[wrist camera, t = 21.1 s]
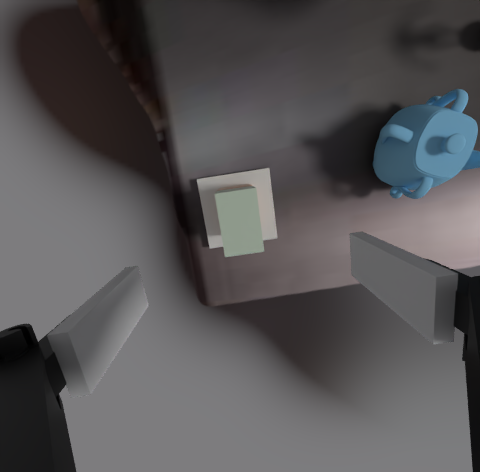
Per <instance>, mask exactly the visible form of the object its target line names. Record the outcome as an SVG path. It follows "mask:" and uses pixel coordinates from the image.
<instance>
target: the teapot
mask: <svg viewBox="0 0 480 472" xmlns="http://www.w3.org/2000/svg"><path fill="white" fill-rule="evenodd" d="M454 99H456V100H455V102H454V104H453V106H452V108H451V109H449V108H445V107H444V106H445V105H447V104H448V103H450V102H451V101H453V100H454ZM467 102H468V94H467V93H466V92H465V91H464V90H461V89H455V90H452V91H450V92H448V93H447V94H445V95H444V96H442V97H440V96H434V97H431V98H430V99H429V100H428V101H427V103H426V104H425V105H423V104H422V105H414V106H409V107H406V108H403V109H401V110H399V111H398V112H397V113H395V114H394V115H393V116H392V117H391V118H390V120H389V121H388V122H387V124H386V125H385V126H384V127H383V128H382V129H381V131H380V136H379V138H378V141H377V144H376V147H375V152H374V161H373V164H372V165H373V168H374V171H375V173H376V175H377V177H378V178H379V179H380V180H382V181H383V182H385V183H387V184H389V185H392V186H393V187H392V188H391V190H390V195H391V196H392V197H393V198H400V197H401V195H402V193H403V194H404V195H405V196H407V197H409V198H413V199H418V198H421V197H423V196H424V195H425V194H426V193H427V192H428V191H429V189H430V188H432V187H435V186H438V185H440V184H442V183H444V182H446V181H447V180H449V179H451V178H453V177H454V176H455V175H457V174H458V173H459V172H460V171H461V170H467V169H474V168H479V167H480V152H479V151H475V150H473V148H474V145H475V142H476V138H477V131H478V128H477V123H476V121H475V120H474V119H472V118H471V117H469V116H467V115H465V114H463V113H462V111H463V110H464V108H465V106H466V104H467ZM408 189H409V190H415V191H414V192H413V193H412V192H410V191H409V190H408Z"/></svg>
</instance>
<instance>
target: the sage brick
mask: <svg viewBox="0 0 480 472" xmlns="http://www.w3.org/2000/svg"><path fill="white" fill-rule="evenodd" d="M215 200H216V206H217V212H218V218H219V224H220V230H221V236H222V242H223V248H224V254H225V257H230V256H237V255H244V254H251V253H258V252H264V246H263V238H262V230H261V222H260V214H259V206H258V198H257V190H256V187H254V186H247V187H240V188H233V189H226V190H220V191H217V192H216V193H215Z"/></svg>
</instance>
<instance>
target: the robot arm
mask: <svg viewBox="0 0 480 472" xmlns="http://www.w3.org/2000/svg"><path fill="white" fill-rule="evenodd" d="M350 251H351V274H352V276H353V277H354V278H356V279H357V280H358V281H359V282H360V283H361V284H363V285H364V286H365V287H366V288H368V289H369V290H370V291H371V292H372V293H373V294H374V295H376V296H377V297H378V298H379V299H380V300H382V301H383V302H384V303H385V304H386V305H387V306H389V307H390V308H391V309H392V310H393V311H394V312H396V313H397V314H398V315H399V316H400V317H401V318H403V319H404V320H405V321H406V322H407V323H409V324H410V325H411V326H412V327H413V328H414V329H416V330H417V331H418V332H419V333H420V334H422V335H423V336H424V337H425V338H426V339H427V340H429V341H430V342H431V343H432V344H439V343H447V342H453V341H454V328H455V327H456V328H457V329H459V330H460V331H462V332H463V333H464V344H463V345H464V346H463V357H462V360H463V361H465V369H466V383H467V397H468V410H469V425H470V438H471V452H472V467H473V472H480V276H475V277H469V276H467V275H465V274H462V273H460V272H458V271H455V270H453V269H449V268H448V267H446V266H444V265H441V264H439V263H437V262H434V261H432V260H428V259H424V258H421V257H419V256H417V255H414V254H412V253H410V252H407V251H405V250H403V249H401V248H398V247H396V246H394V245H392V244H389V243H387V242H385V241H382V240H380V239H378V238H376V237H373V236H371V235H369V234H366V233H364V232H356V233H350ZM147 307H148V301H147V298H146V294H145V290H144V286H143V283H142V279H141V275H140V271H139V268H138V266H133V267H127V268H125V269H124V270H123V271H121V272H120V273H119V274H118V275H117V276H116V277H114V278H113V279H112V280H111V281H110V282H108V283H107V284H106V285H105V286H104V287H103V288H102V289H100V290H99V291H98V292H97V293H96V294H94V295H93V296H92V297H91V298H90V299H89V300H87V301H86V302H85V303H84V304H83V305H82V306H80V307H79V308H78V309H77V310H76V311H75V312H74V313H72V314H71V315H69V316H68V317H67V318H66V319H65V320H63V321H62V322H61V324H59V325H57V326H56V327H55V329H53V330H52V331H50V332H49V333H48V334H47V335H46V336H45V337H44V338H42V339H41V340H40V341H39V342H38V341H37V339H36V336H35V333H34V331H33V328H32V326H31V325H30V324H21V325H17V326H14V327H11V328H8V329H5V330H3V331H1V332H0V472H76V468H75V463H74V458H73V453H72V448H71V443H70V438H69V433H68V429H67V423H66V419H65V413H64V409H63V404H62V400H61V398H60V395H59V393H60V392H61V390H62V389H63V388H64V387H65V385H66V386H67V388H68V391H69V393H70V396H71V397H78V396H85V395H91V393H92V392H93V390H94V389H95V387H96V386H97V384H98V383H99V381H100V380H101V378H102V376H103V375H104V373H105V372H106V370H107V369H108V367H109V366H110V364H111V363H112V361H113V359H114V358H115V357H116V355H117V354H118V352H119V350H120V349H121V347H122V346H123V344H124V343H125V341H126V340H127V338H128V336H129V335H130V334H131V332H132V330H133V329H134V327H135V326H136V324H137V323H138V321H139V320H140V318H141V317H142V315H143V314H144V312H145V311H146V309H147Z"/></svg>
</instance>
